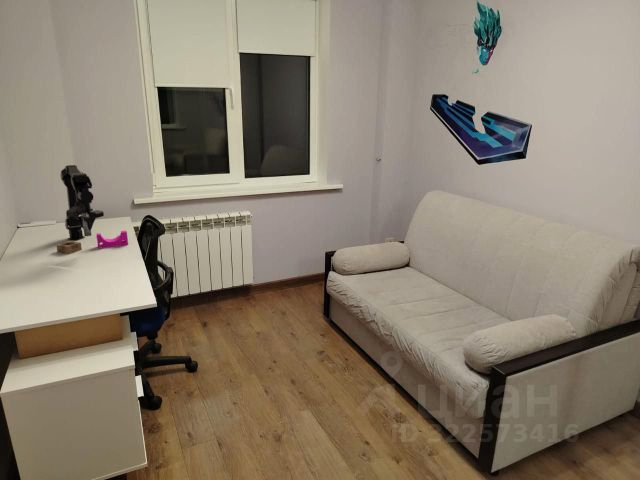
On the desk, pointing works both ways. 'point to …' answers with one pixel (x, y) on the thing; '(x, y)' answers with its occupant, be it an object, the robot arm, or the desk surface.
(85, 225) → the metal canister
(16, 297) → the desk surface
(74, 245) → the brown square frame
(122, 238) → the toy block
